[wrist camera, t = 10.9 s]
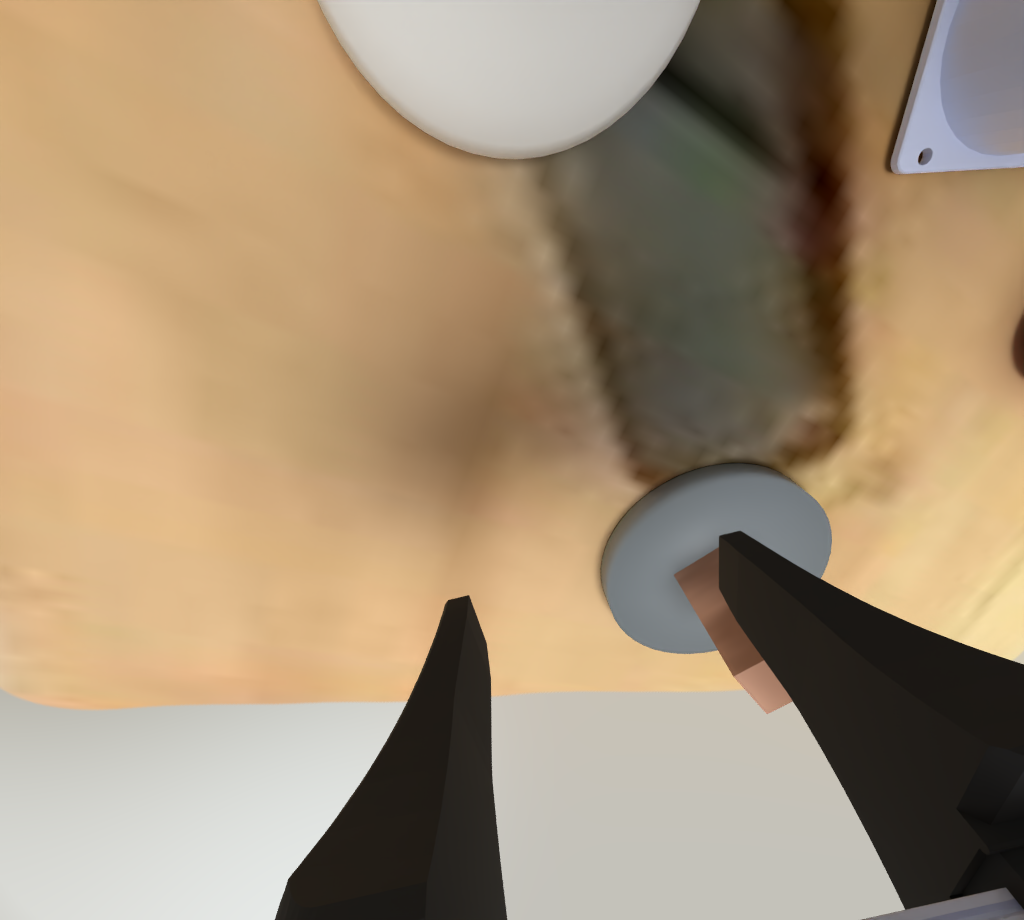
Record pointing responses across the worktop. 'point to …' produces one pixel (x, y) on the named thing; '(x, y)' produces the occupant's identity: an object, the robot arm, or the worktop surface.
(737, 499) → the slate base plate
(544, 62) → the flower in vase
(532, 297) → the worktop surface
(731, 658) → the terracotta block
